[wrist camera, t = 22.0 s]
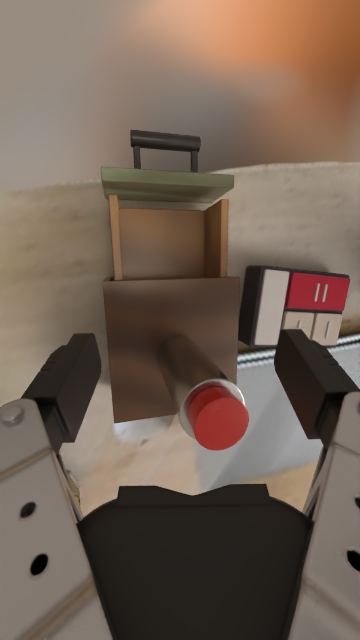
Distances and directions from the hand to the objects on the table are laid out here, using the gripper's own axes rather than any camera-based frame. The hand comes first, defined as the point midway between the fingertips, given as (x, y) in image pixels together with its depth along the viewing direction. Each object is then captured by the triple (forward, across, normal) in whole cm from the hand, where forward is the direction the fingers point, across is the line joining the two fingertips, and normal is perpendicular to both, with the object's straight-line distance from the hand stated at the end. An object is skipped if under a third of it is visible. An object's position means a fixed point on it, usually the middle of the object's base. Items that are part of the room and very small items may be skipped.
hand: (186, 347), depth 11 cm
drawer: (+24, +2, 0) cm, 24 cm away
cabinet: (+20, +3, +12) cm, 24 cm away
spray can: (+13, +1, +11) cm, 16 cm away
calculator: (+26, -16, +12) cm, 32 cm away
